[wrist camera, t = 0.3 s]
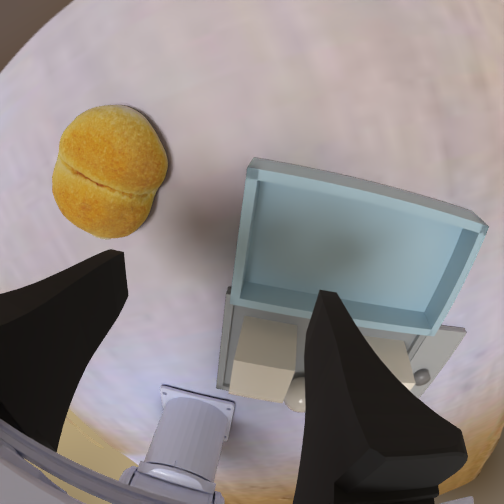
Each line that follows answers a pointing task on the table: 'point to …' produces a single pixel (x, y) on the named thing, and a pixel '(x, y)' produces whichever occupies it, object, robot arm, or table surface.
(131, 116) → the bread roll
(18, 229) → the table surface
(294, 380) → the pebble
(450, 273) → the blue bin
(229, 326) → the slate tray
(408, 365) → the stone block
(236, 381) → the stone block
